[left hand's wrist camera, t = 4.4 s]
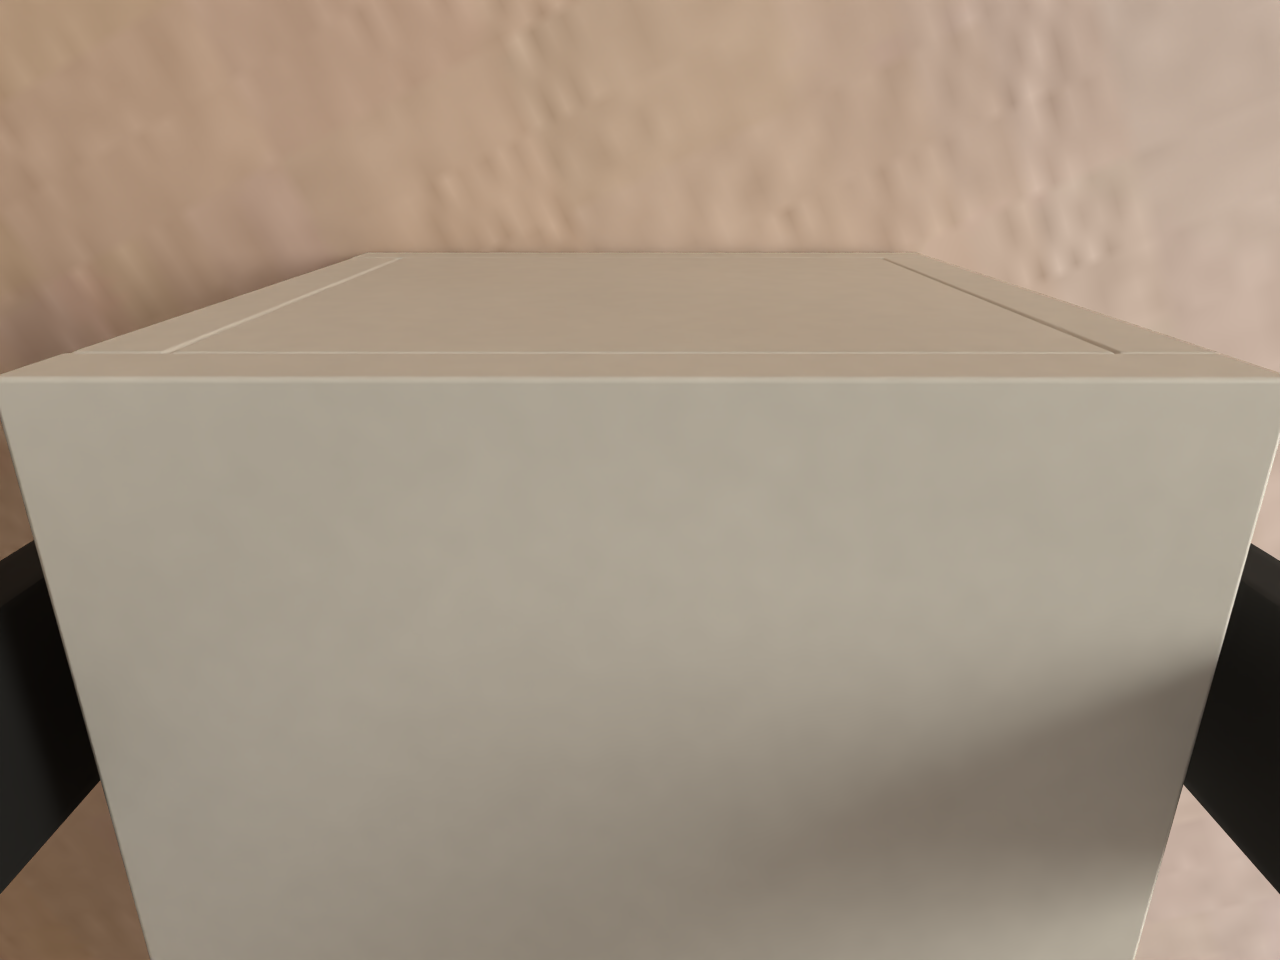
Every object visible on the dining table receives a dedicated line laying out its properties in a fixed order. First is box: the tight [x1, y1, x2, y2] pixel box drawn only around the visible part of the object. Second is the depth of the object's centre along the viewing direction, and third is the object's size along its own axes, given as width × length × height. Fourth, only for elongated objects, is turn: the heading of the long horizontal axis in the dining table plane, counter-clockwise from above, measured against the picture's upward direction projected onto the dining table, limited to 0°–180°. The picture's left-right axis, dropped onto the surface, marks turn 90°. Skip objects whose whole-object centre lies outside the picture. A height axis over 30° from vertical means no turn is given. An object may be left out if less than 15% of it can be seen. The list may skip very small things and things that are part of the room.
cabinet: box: [0, 252, 1280, 960], centre depth 15 cm, size 19×11×11 cm, turn 0°
